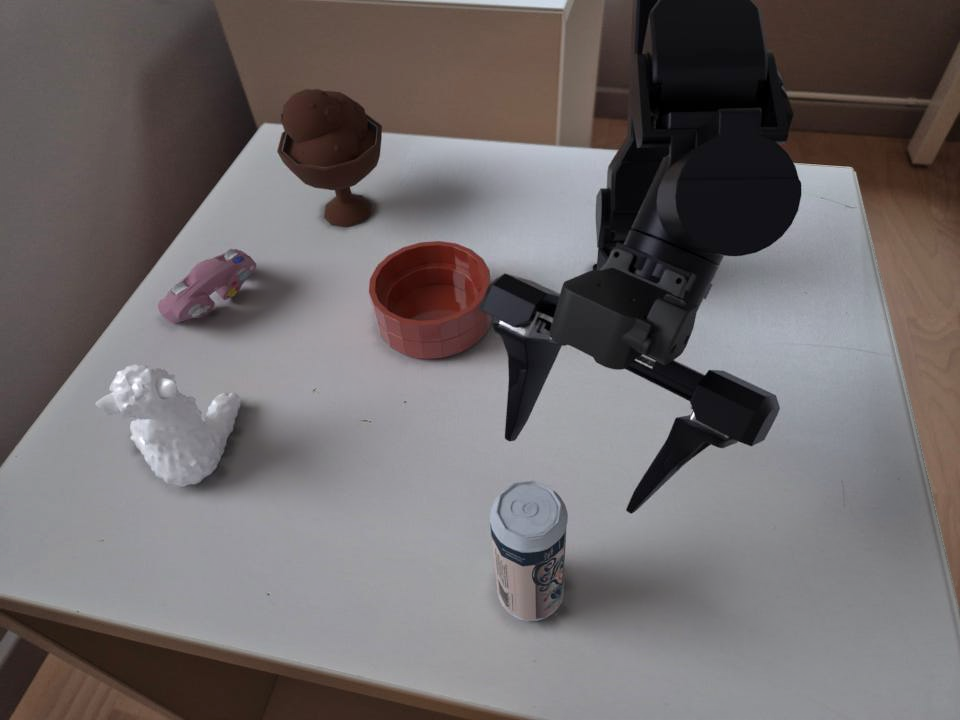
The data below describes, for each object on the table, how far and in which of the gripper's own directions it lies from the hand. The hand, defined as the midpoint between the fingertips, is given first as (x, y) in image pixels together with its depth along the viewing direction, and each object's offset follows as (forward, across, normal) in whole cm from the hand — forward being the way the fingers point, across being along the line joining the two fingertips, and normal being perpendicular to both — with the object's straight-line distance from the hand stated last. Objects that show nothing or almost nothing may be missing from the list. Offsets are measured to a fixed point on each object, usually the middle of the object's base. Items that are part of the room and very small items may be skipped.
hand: (567, 474), depth 48 cm
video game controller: (+6, -44, +9) cm, 45 cm away
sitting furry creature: (+15, -30, 0) cm, 34 cm away
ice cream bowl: (-7, -43, +22) cm, 49 cm away
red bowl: (-2, -24, +17) cm, 29 cm away
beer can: (+11, 0, +5) cm, 12 cm away
